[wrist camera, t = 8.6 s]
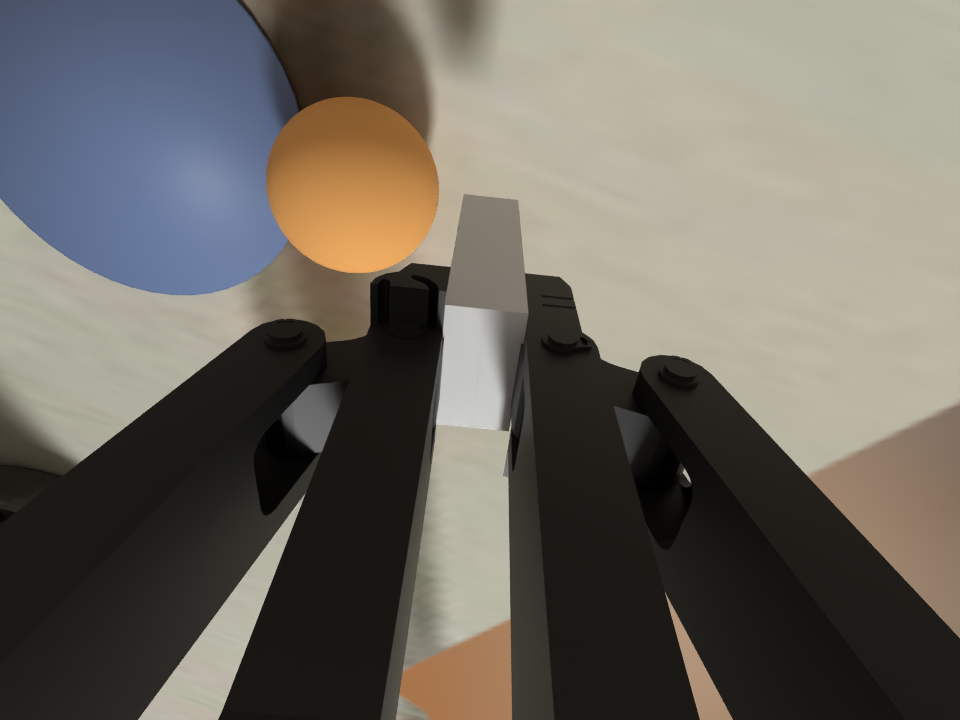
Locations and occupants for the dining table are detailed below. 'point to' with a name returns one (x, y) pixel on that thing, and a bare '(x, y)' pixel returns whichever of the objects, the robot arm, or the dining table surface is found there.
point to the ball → (352, 184)
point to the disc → (143, 137)
